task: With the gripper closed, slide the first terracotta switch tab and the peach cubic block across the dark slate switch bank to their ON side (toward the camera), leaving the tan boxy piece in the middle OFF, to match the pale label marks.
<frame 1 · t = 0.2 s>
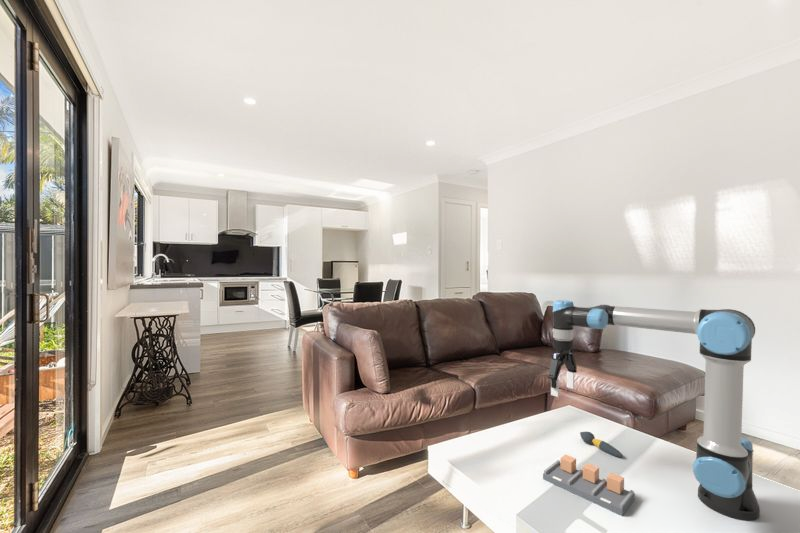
hand: (562, 391, 147), 27 cm above the table, fingers open, 13 cm apart
peach cubic block: (568, 463, 137), point 4 cm above the table, slide at 0.0 cm
paintbrush: (600, 448, 157), on the table
tan boxy piece: (590, 472, 131), point 4 cm above the table, slide at 0.0 cm
tab a: (615, 483, 125), point 4 cm above the table, slide at 0.0 cm
switch bank: (586, 488, 129), on the table
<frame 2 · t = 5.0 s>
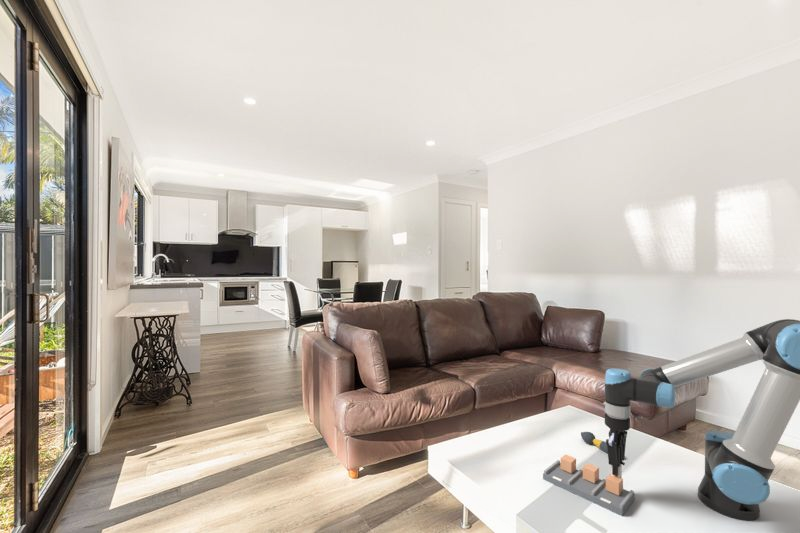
hand: (616, 483, 126), 4 cm above the table, fingers closed
tab a: (614, 484, 124), point 4 cm above the table, slide at 1.2 cm, touching gripper
everything else where it was.
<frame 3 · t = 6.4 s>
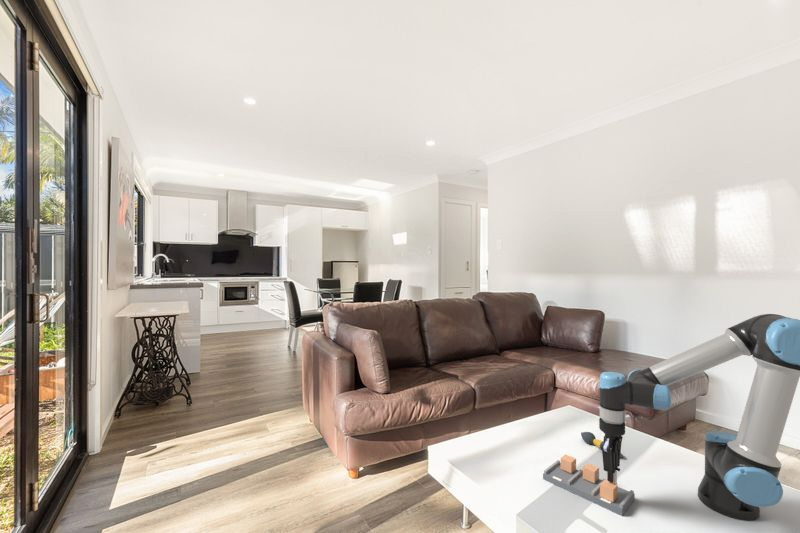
hand: (611, 489, 123), 3 cm above the table, fingers closed
tab a: (608, 490, 121), point 4 cm above the table, slide at 6.2 cm, touching gripper
everything else where it was.
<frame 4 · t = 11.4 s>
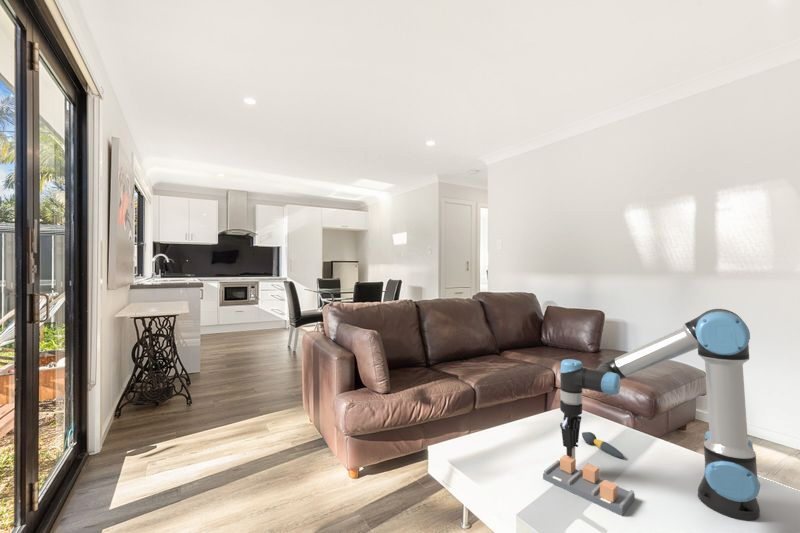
hand: (570, 463, 138), 4 cm above the table, fingers closed
peach cubic block: (567, 464, 136), point 4 cm above the table, slide at 0.4 cm, touching gripper
tab a: (608, 490, 121), point 4 cm above the table, slide at 6.2 cm
everything else where it was.
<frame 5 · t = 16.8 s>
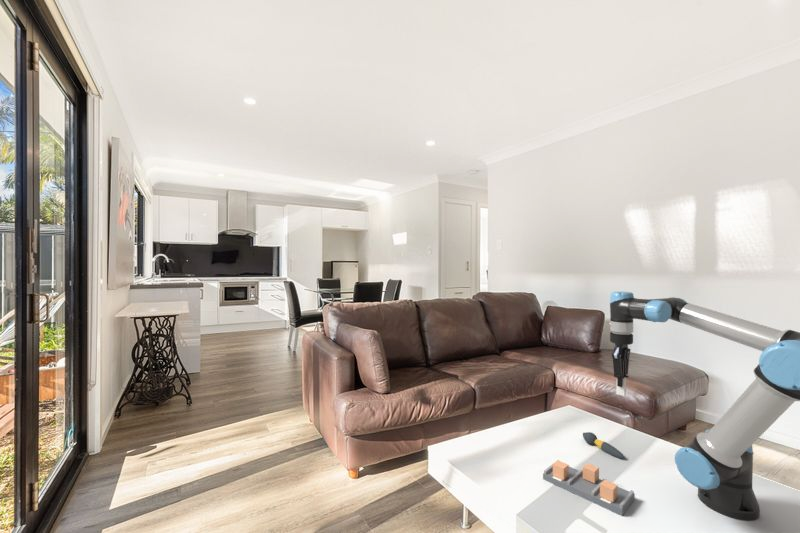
hand: (621, 394, 139), 29 cm above the table, fingers closed
peach cubic block: (560, 469, 133), point 4 cm above the table, slide at 6.2 cm
everything else where it was.
at the end: tab a slide at 6.2 cm; peach cubic block slide at 6.2 cm; tan boxy piece slide at 0.0 cm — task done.
